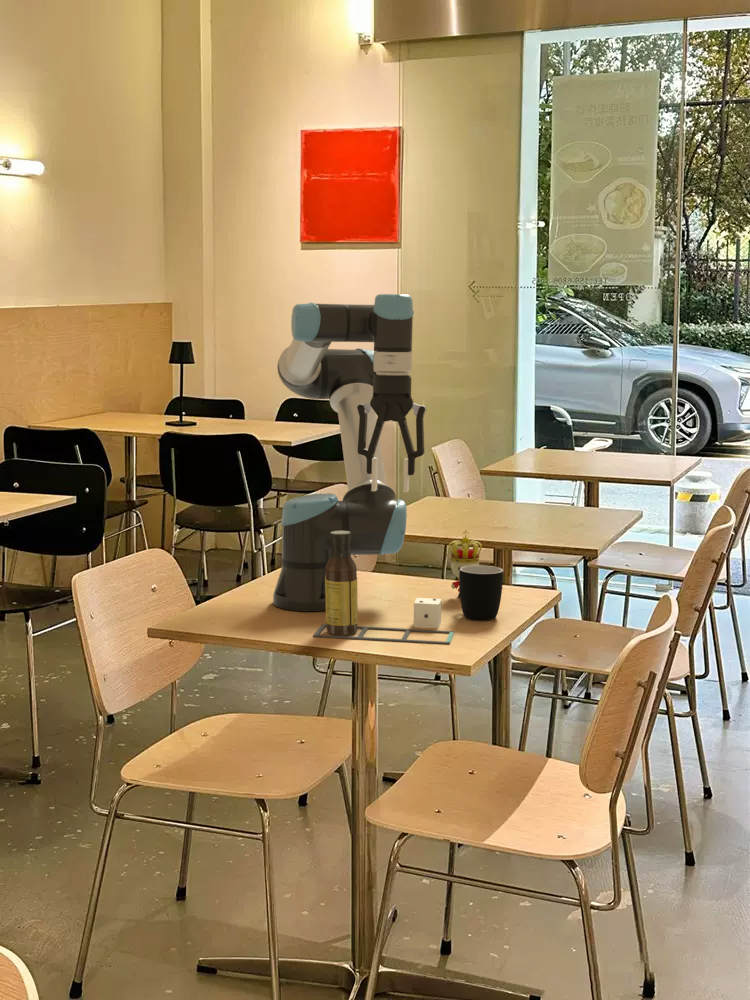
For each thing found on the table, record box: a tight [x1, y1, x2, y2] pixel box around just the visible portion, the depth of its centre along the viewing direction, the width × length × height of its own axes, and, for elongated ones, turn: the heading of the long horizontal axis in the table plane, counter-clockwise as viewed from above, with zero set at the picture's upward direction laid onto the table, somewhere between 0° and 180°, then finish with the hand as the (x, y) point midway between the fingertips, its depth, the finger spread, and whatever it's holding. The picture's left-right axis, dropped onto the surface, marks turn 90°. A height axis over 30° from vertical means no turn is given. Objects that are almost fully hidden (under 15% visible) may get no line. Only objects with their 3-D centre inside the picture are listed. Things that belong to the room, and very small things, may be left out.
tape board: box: [312, 623, 455, 645], centre depth 245 cm, size 9×26×1 cm, turn 81°
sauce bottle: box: [325, 531, 359, 636], centre depth 245 cm, size 6×6×20 cm
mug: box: [458, 564, 504, 622], centre depth 261 cm, size 12×9×10 cm
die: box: [412, 597, 442, 630], centre depth 253 cm, size 5×5×5 cm
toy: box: [448, 529, 483, 598], centre depth 279 cm, size 7×7×15 cm
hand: (390, 490), depth 251 cm, fingers open, 6 cm apart
